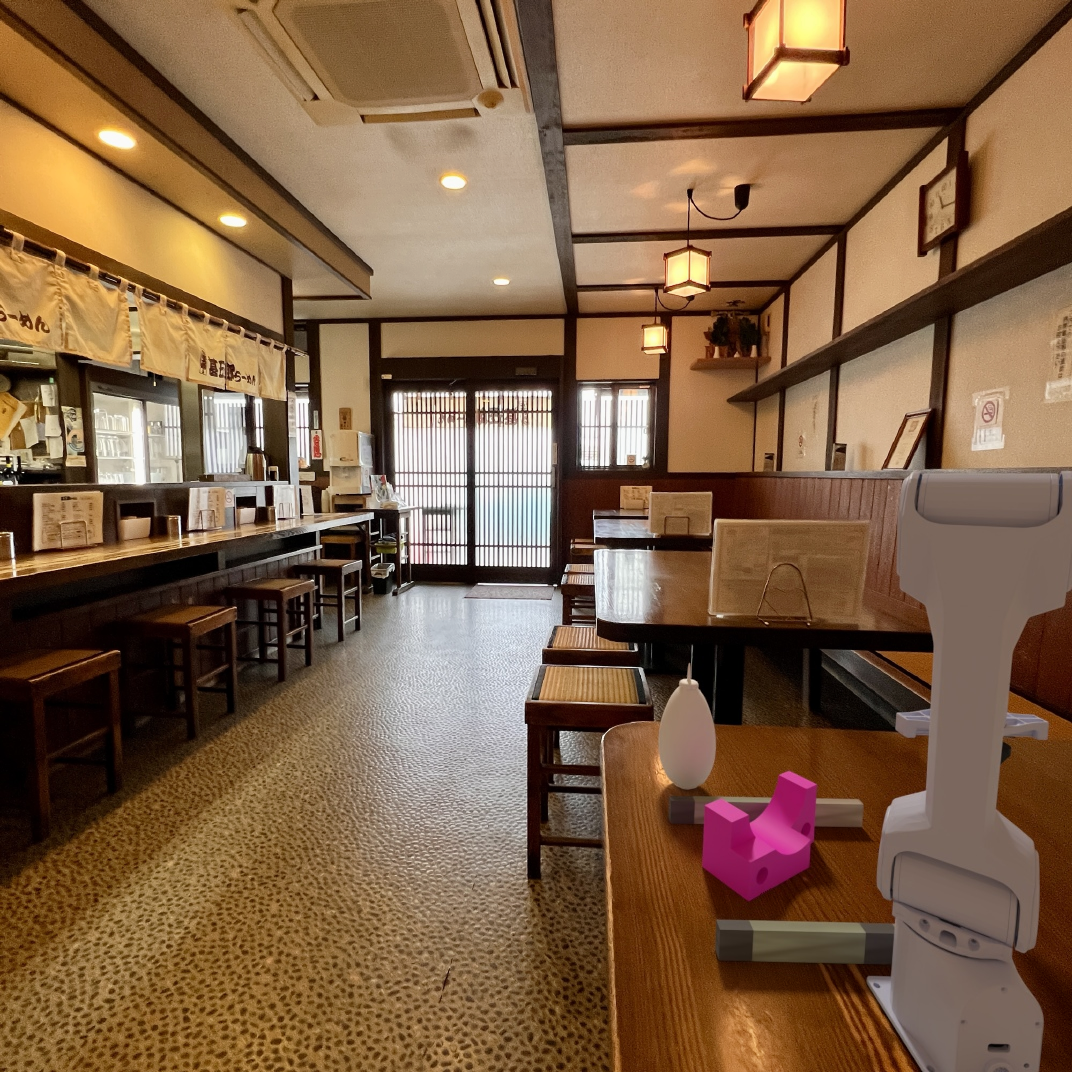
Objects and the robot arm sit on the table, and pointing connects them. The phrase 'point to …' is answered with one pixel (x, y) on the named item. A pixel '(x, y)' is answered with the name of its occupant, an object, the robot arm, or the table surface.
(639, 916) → the table surface
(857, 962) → the trap lane
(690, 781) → the sauce bottle
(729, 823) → the toy block
